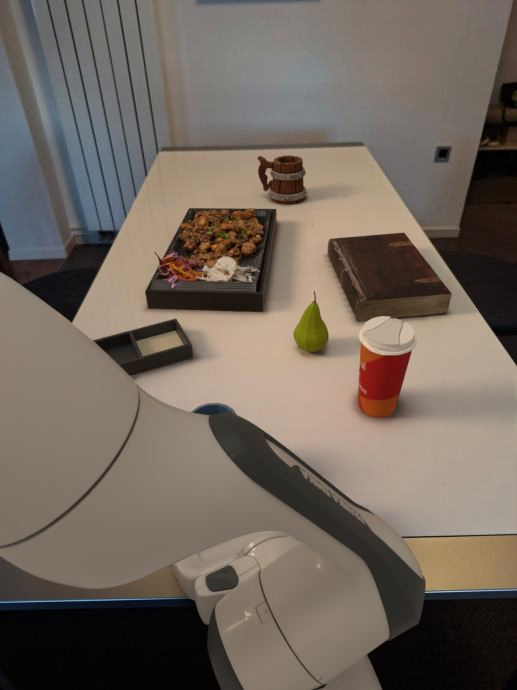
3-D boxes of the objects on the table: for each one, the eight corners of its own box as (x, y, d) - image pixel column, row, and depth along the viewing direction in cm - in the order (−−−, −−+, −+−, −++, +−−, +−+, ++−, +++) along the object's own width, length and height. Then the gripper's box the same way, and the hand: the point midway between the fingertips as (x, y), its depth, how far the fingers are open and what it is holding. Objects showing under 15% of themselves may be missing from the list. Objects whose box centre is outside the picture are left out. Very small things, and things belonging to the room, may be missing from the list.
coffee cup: (364, 381, 85) (374, 308, 76) (410, 400, 81) (426, 325, 72) (341, 410, 80) (349, 335, 71) (389, 431, 76) (404, 354, 67)
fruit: (300, 361, 90) (301, 305, 83) (289, 342, 95) (290, 287, 88) (333, 354, 91) (337, 299, 84) (320, 336, 96) (324, 282, 89)
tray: (92, 387, 86) (88, 373, 84) (84, 356, 93) (80, 343, 91) (193, 357, 92) (191, 344, 90) (178, 331, 99) (176, 318, 97)
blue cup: (203, 497, 67) (195, 447, 61) (187, 461, 72) (179, 412, 66) (248, 479, 69) (246, 429, 63) (230, 445, 74) (226, 397, 68)
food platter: (263, 311, 103) (261, 267, 97) (148, 308, 105) (139, 265, 99) (276, 223, 139) (276, 187, 133) (190, 222, 141) (186, 187, 135)
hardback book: (327, 256, 123) (328, 237, 120) (401, 251, 124) (404, 232, 121) (355, 321, 100) (358, 300, 97) (446, 314, 101) (451, 293, 98)
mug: (310, 204, 149) (302, 154, 140) (263, 212, 151) (253, 163, 143) (309, 190, 158) (302, 142, 150) (265, 198, 161) (256, 151, 152)
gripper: (363, 523, 54) (304, 436, 64) (182, 601, 48) (148, 491, 58) (357, 554, 58) (302, 468, 68) (189, 630, 51) (156, 523, 62)
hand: (230, 479), depth 63 cm, fingers open, 8 cm apart
